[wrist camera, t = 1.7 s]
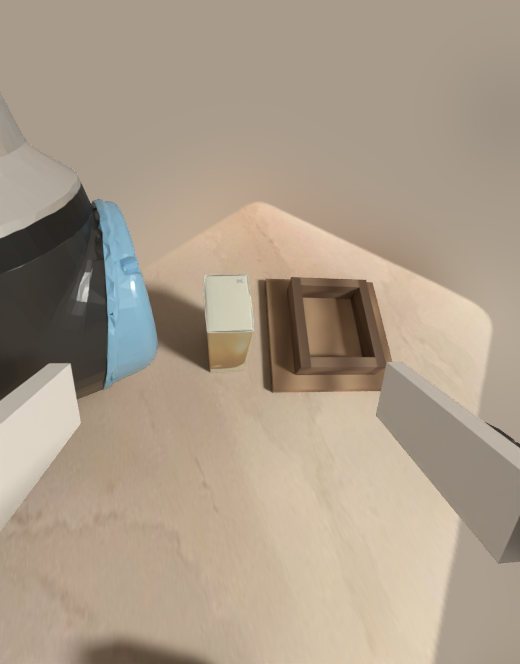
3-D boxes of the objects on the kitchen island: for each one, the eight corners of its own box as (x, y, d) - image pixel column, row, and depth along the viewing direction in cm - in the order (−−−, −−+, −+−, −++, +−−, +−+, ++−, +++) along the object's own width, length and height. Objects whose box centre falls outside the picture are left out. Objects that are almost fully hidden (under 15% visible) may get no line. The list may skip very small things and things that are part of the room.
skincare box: (207, 328, 39) (202, 271, 28) (240, 327, 39) (248, 270, 28) (209, 375, 36) (204, 332, 25) (244, 373, 37) (255, 330, 26)
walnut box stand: (272, 392, 36) (278, 382, 32) (265, 283, 43) (269, 265, 39) (393, 390, 38) (413, 381, 34) (368, 287, 45) (382, 270, 41)
